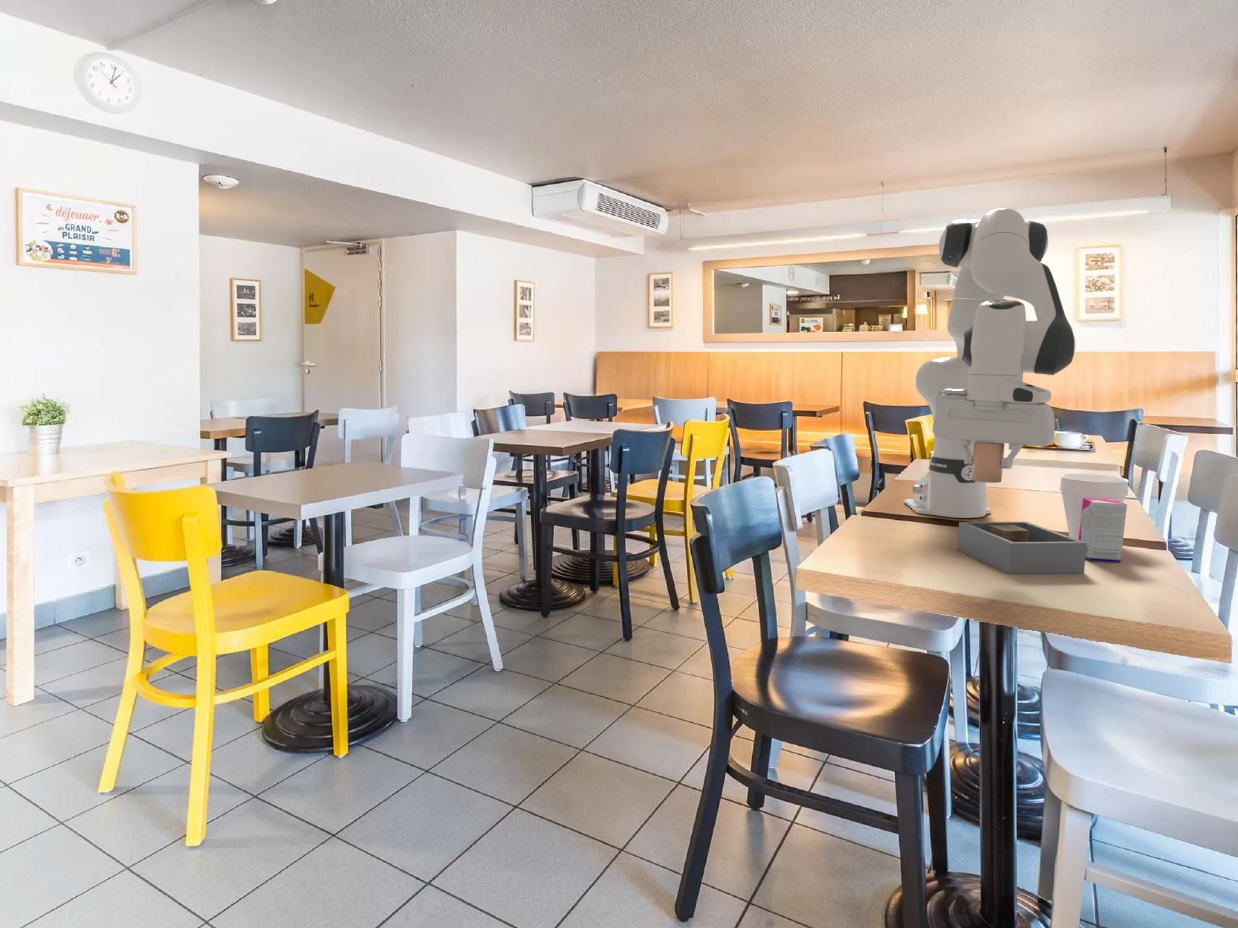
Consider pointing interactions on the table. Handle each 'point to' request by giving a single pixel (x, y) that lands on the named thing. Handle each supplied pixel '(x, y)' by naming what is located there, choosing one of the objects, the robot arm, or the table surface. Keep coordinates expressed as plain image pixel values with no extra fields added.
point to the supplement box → (1102, 529)
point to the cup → (1088, 494)
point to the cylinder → (987, 462)
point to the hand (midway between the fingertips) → (987, 466)
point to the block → (1010, 532)
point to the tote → (1023, 549)
